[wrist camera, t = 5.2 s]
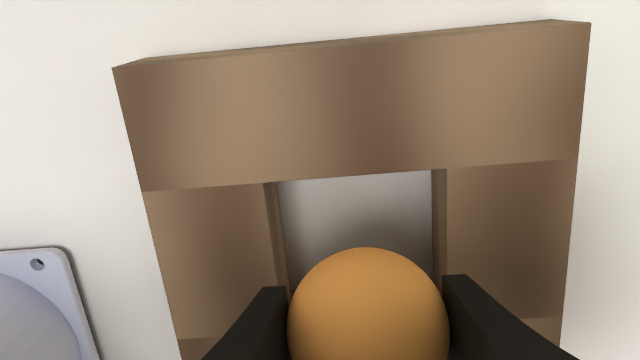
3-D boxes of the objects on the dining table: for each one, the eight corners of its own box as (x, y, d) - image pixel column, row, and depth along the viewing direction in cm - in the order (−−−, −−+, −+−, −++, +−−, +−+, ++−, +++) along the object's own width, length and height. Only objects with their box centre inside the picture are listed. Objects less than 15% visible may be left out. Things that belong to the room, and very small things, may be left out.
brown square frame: (212, 372, 20) (196, 421, 18) (144, 58, 16) (111, 67, 13) (527, 355, 19) (553, 404, 17) (551, 19, 15) (591, 22, 13)
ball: (300, 344, 15) (289, 462, 11) (285, 226, 13) (265, 315, 9) (433, 336, 14) (468, 455, 11) (431, 215, 13) (471, 302, 9)
